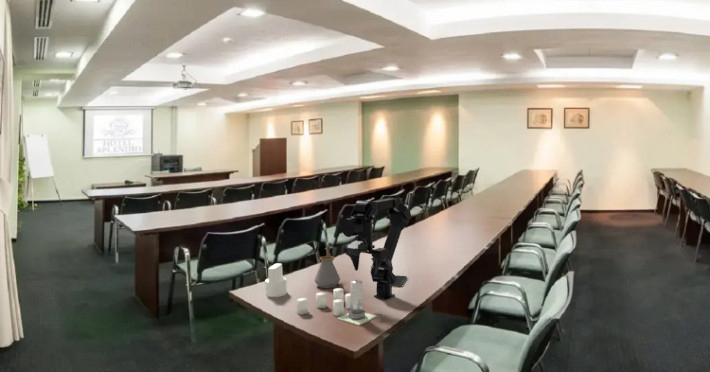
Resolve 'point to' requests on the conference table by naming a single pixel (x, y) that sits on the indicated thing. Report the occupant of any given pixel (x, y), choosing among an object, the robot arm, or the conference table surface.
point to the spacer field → (321, 302)
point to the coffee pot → (327, 272)
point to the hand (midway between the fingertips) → (365, 272)
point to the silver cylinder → (356, 300)
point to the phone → (399, 280)
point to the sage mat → (356, 322)
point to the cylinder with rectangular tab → (275, 282)
